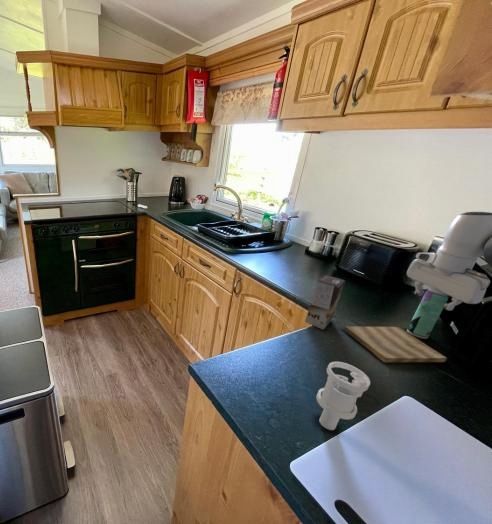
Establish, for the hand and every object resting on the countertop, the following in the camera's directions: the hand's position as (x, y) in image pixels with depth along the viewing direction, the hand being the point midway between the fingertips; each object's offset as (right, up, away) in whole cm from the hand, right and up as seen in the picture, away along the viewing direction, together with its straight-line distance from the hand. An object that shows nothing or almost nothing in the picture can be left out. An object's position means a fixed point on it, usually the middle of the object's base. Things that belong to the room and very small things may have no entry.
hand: (432, 301), depth 95 cm
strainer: (-55, -22, -32) cm, 68 cm away
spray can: (-1, -12, +5) cm, 13 cm away
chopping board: (-16, -13, -3) cm, 21 cm away
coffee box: (-33, -8, +8) cm, 35 cm away
